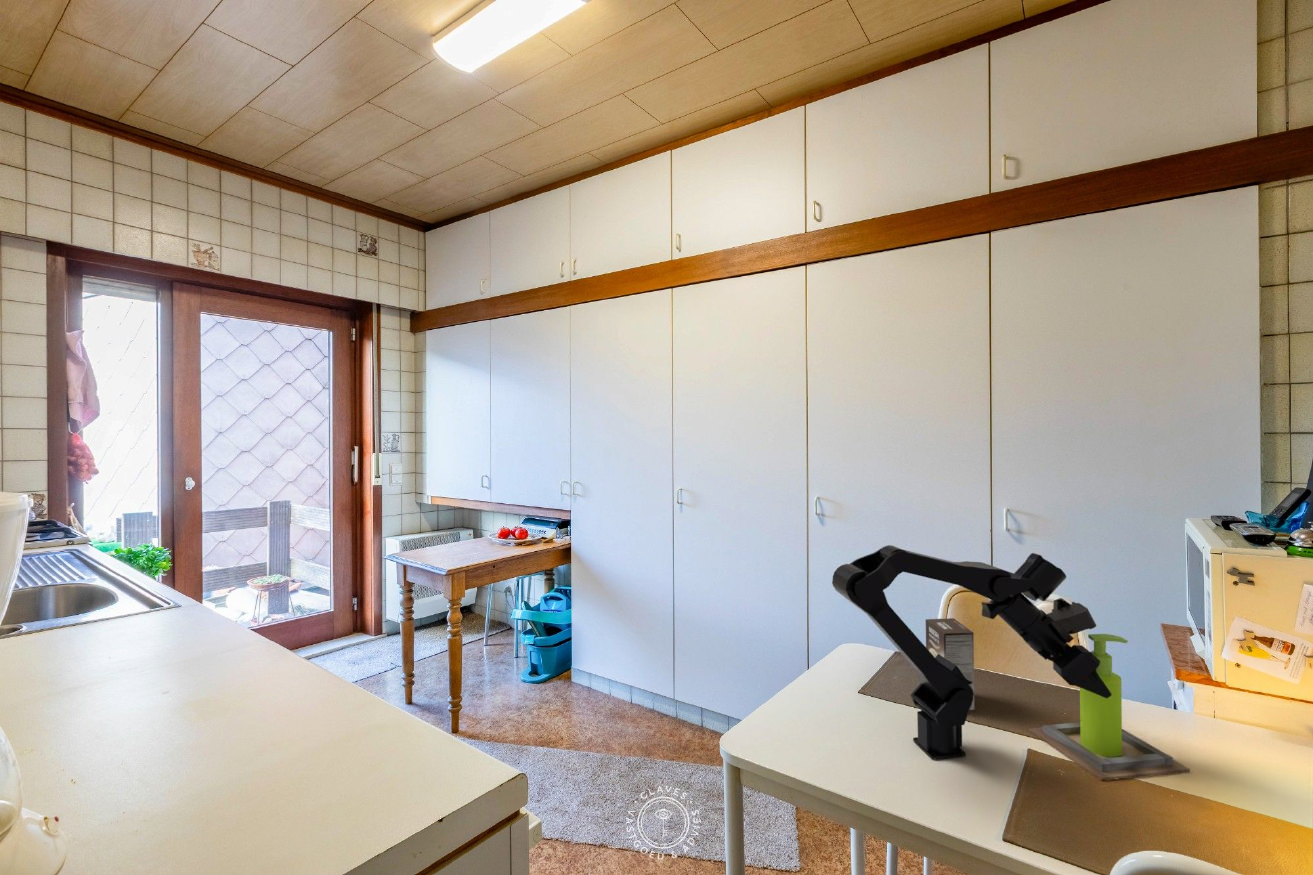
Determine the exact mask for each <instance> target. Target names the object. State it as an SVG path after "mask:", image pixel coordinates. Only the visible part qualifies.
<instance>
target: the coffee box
mask: <svg viewBox="0 0 1313 875" xmlns="http://www.w3.org/2000/svg"><path fill="white" fill-rule="evenodd" d="M974 635H975V634H974V632H973V631H972V630H970V629H969V628H967V627H966V626H965V625H963V624H962V623H961V622H959V621H958V620H957V619H955V618H954V617H953V618H951V617H950V618H927V619H925V647H926V648H927V649H928V650H929V651H930V653H931V654H932V655H933V656H934V657H936V656H937V655H938V654H939V655H941V656H942V657H944V658H945V659H947V660H948V661H950V662H951V663H953V664H955V665H956V666H957V667H958V668H959V669H960V671H961V672H962V674H963V676H964V677H965V678H967V679H968V680H970V681H971V682H972V684H969V685H970V686H971V688H972V689H973V691H974V692H975V655H974V654H975V650H974V649H975V648H974V645H975V644H974V643H975V642H974V640H975V639H974ZM974 710H975V695H974V696H973V702H972V704H971V706H970V709H969V711H974Z"/></svg>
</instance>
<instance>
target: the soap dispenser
mask: <svg viewBox="0 0 1313 875" xmlns="http://www.w3.org/2000/svg"><path fill="white" fill-rule="evenodd" d="M1087 635H1088V639H1089V640H1091V641H1092V642H1093V650H1091V651H1090V652H1091V653H1092V654H1093V655H1094V656H1095V657H1096V658H1097V659H1099V660H1100V664H1099V666H1098V668H1097V670H1096V671H1097V673H1098V675H1099V676H1100V678H1101V679H1102V681H1103V682H1104V684H1105V685H1106V686H1107V688H1108V689H1109V691H1110V692H1111V694H1112V695H1111V696H1110V697H1109V698H1104V697H1102V696H1100V695H1097V694H1095V693H1092V692H1090V691H1087V690H1085V689H1082V688H1080V687H1079V703H1080V704H1079V712H1080V713H1079V718H1080V721H1079V722H1080V737H1081V745H1082V746H1084V747H1085V748H1087V749H1088V750H1090V751H1091V752H1093V753H1095V754H1097V755H1100V756H1105V757H1119V756H1121V755H1122V729H1123V721H1122V720H1123V716H1122V712H1123V710H1122V707H1123V706H1122V705H1123V704H1122V703H1123V702H1122V677H1121V676H1120V675H1119V674H1117V673H1115V672H1113V657H1112V655H1110V654H1109V653H1108V652H1107V645H1106V644H1107V643H1106V642H1117V643H1122V644H1123V643H1124V644H1127V643H1128V642H1129V641H1128V639H1125V638H1124V637H1122V636H1120V635H1115V634H1107V633H1091V634H1087Z"/></svg>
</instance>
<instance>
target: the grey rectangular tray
mask: <svg viewBox="0 0 1313 875" xmlns="http://www.w3.org/2000/svg"><path fill="white" fill-rule="evenodd" d="M1028 730H1029V732H1030V733H1032V734H1033V735H1034V736H1035V737H1038V738H1039V739H1040V740H1042V741H1043V742H1044V743H1046V744H1047V745H1049V746H1050V747H1052V748H1053V749H1055V751H1058V752H1059V753H1060V754H1062V755H1063V756H1064V757H1066V758H1067V759H1069V760H1071V761H1072V762H1073V763H1075V764H1076V763H1077V765H1078V766H1080V768H1082V769H1084V770H1085V769H1086V770H1085V771H1086V772H1088V771H1089V772H1088V773H1090V774H1091V773H1092V774H1091V775H1093V776H1094V775H1095V776H1096V777H1095V776H1094V777H1095V778H1097V779H1098V778H1099V779H1098V780H1099V781H1101V780H1106V781H1111V780H1110V779H1115V778H1126V779H1134V778H1135V779H1136V778H1142V777H1143V778H1145V777H1152V776H1153V777H1155V776H1164V775H1165V776H1166V775H1172V774H1173V775H1174V774H1183V773H1190V772H1191V768H1189V767H1188V766H1186V765H1184V764H1182V763H1180V762H1178V761H1176V760H1175V759H1174V757H1172V756H1171V755H1169V754H1167V753H1166V752H1164V751H1162V750H1161V749H1159V748H1157V747H1155V746H1153V745H1152V744H1150V743H1148V742H1146V741H1145V740H1142V739H1141V738H1139V737H1137V736H1136V735H1134V734H1132V733H1131V732H1129V731H1126V730H1125V729H1123V728H1122V755H1121V756H1119V757H1105V756H1100V755H1097V754H1095V753H1093V752H1091V751H1090V750H1088V749H1087V748H1085V747H1084V746H1082V745H1081V737H1080V721H1078V722H1065V723H1056V724H1054V723H1053V724H1045V725H1044V724H1043V725H1042V726H1041V727H1033V728H1029V729H1028Z"/></svg>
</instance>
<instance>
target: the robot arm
mask: <svg viewBox="0 0 1313 875" xmlns="http://www.w3.org/2000/svg"><path fill="white" fill-rule="evenodd" d="M902 573H906V574H911V575H914V576H919V577H923V578H928V579H932V580H936V581H940V582H944V583H948V584H953V585H955V586H959V587H962V588H964V589H966V590H969V591H970V592H972V593H975V594H977V595H980V596H982V597H984V598H987V599H989V601H986V602H985V601H982V602H981V605H982V606H981V607H982V609H981V616H982V617H984V618H988V619H991V620H994V619H995V618H996V617H997V616H999V617H1000V619H1002V621H1004V622H1005V623H1006V624H1007V625H1008V626H1009V627H1010V628H1011V629H1013V631H1014V632H1016V633H1017V634H1018V635H1019V637H1021V638H1022V640H1023V641H1024V642H1025V643H1026V644H1027V645H1028V646H1029V647H1030V648H1031V649H1033V651H1034V652H1036V653H1037V654H1038V655H1039V656H1040V657H1041V658H1043V659H1044V660H1045V661H1047V660H1048V661H1050V662H1052V669H1053V671H1055V672H1056V673H1057V674H1058V675H1059V676H1060V677H1061V678H1062V679H1063V680H1064V682H1066V683H1067V684H1068V685H1069V686H1072V687H1073V686H1074V687H1077V688H1079V689H1080V688H1082V689H1085V690H1087V691H1090V692H1092V693H1095V694H1097V695H1100V696H1102V697H1104V698H1109V697H1110V696H1111V695H1112V694H1111V692H1110V691H1109V689H1108V688H1107V686H1106V685H1105V684H1104V682H1103V681H1102V679H1101V678H1100V676H1099V675H1098V673H1097V671H1096V670H1097V668H1098V666H1099V664H1100V660H1099V659H1097V658H1096V657H1095V656H1094V655H1093V654H1092V653H1091V651H1089V649H1088V648H1086V647H1085V646H1083V645H1082V644H1081V645H1079V644H1073V645H1071V646H1070V644H1069V643H1071V642H1072V641H1073V640H1074V639H1075V638H1074V637H1073V636H1072V635H1074V634H1078V633H1080V632H1083V631H1085V630H1086V631H1087V630H1092V629H1094V628H1096V627H1097V623H1096V621H1095V619H1094V618H1093V616H1092V614H1091V612H1090V610H1089V608H1088V607H1086V606H1085V605H1083V604H1081V603H1079V602H1075V601H1071V603H1069V602H1068V601H1067V600H1065V599H1064V598H1062V597H1059V598H1057V599H1054V600H1053V609H1051V612H1049V613H1046V612H1045V611H1043V609H1039V608H1038V607H1037V606H1036V605H1035V604H1034V603H1033V602H1032V601H1034V602H1036V601H1037V600H1040V601H1042V602H1044V601H1046V600H1047V599H1048V598H1049V597H1050V596H1051V595H1052V594H1053V593H1054V591H1056V589H1058V588H1059V586H1060V585H1061V584H1062V583H1063V582H1064V581H1065V580H1066V578H1067V575H1066V573H1065V572H1064V571H1063V570H1062V569H1061V568H1060V567H1058V566H1056V565H1055V564H1053V563H1052V562H1050V561H1049V560H1048V559H1046V558H1044V556H1042V555H1041V554H1037V553H1034V552H1032V553H1030V555H1028V556H1027V558H1026V560H1025V562H1023V563H1022V564H1021V566H1019V567H1018V569H1017V570H1015V572H1014V573H1013V572H1010V571H1007V570H1005V569H1002V568H999V567H996V566H993V565H990V564H987V563H986V562H980V561H968V560H967V561H952V560H946V559H943V558H938V557H935V556H931V555H926V554H922V553H918V552H916V551H915V552H914V551H910V550H907V549H902V548H900V547H897V546H895V545H891V544H890V545H889V544H888V545H885V546H883V547H881V548H879V549H878V550H877V551H875V552H873V553H870V554H867V555H864V556H862V557H858V558H856V559H855V560H853V561H852V562H851V563H844V564H842V565H840V566H838V567H837V568H836V570H835V571H834V572H833V575H832V581H831V584H832V586H833V588H834V590H835V591H836V592H837V593H838V594H840V595H841V596H843V597H844V599H846V600H848V601H849V602H850V604H852V605H854V606H855V607H856V608H858V609H859V610H861V611H862V612H863V613H865V614H866V615H867V617H868V618H869V619H871V621H872V623H873V624H875V625H876V627H878V629H879V630H880V631H881V633H883V635H884V636H885V637H886V638H887V639H888V640H889V641H890V643H892V645H893V646H894V647H895V648H896V649H897V650H898V651H899V653H900V654H901V655H902V656H903V657H904V658H905V659H906V660H907V661H908V663H909V664H910V665H911V666H912V667H913V668H914V670H915V674H916V677H917V679H918V681H919V682H920V683H919V685H917V687H916V688H915V689H914V690H913V691H912V693H911V694H910V697H911V699H912V700H911V701H912V703H913V705H914V706H915V707H917V708H918V709H920V710H919V711H917V736H916V737H913V738H912V741H913V743H915V744H916V745H917V746H918V748H920V749H921V750H922V751H923V752H924V753H925V754H926V755H927V756H929V758H930V759H932V760H939V759H940V760H941V759H951V758H960V757H962V758H963V757H966V755H967V752H966V751H965V750H963V749H962V748H963V726H965V723H966V721H967V718H968V714H969V711H970V710H969V709H970V706H971V704H972V702H973V696H974V697H975V690H974V691H973V689H972V688H971V686H970V685H969V684H972V682H971V681H970V680H968V679H967V678H965V677H964V676H963V674H962V672H961V671H960V669H959V668H958V667H957V666H956V665H955V664H953V663H951V662H950V661H948V660H947V659H945V658H944V657H942V656H941V655H939V654H938V655H937V656H936V657H934V656H933V655H932V654H931V653H930V651H929V650H928V649H927V648H926V645H924V644H923V642H922V641H921V640H920V639H919V637H917V635H915V633H914V632H913V631H912V630H911V629H910V628H909V626H908V625H907V624H906V622H904V621H903V620H902V618H901V617H900V616H899V615H898V614H897V613H896V611H894V609H893V608H892V606H890V604H889V603H888V599H887V596H886V593H885V591H884V590H886V589H887V588H889V587H890V586H891V584H892V583H893V582H894V581H895V580H896V578H897V577H898V576H899V575H900V574H902ZM1029 599H1030V600H1029Z"/></svg>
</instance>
